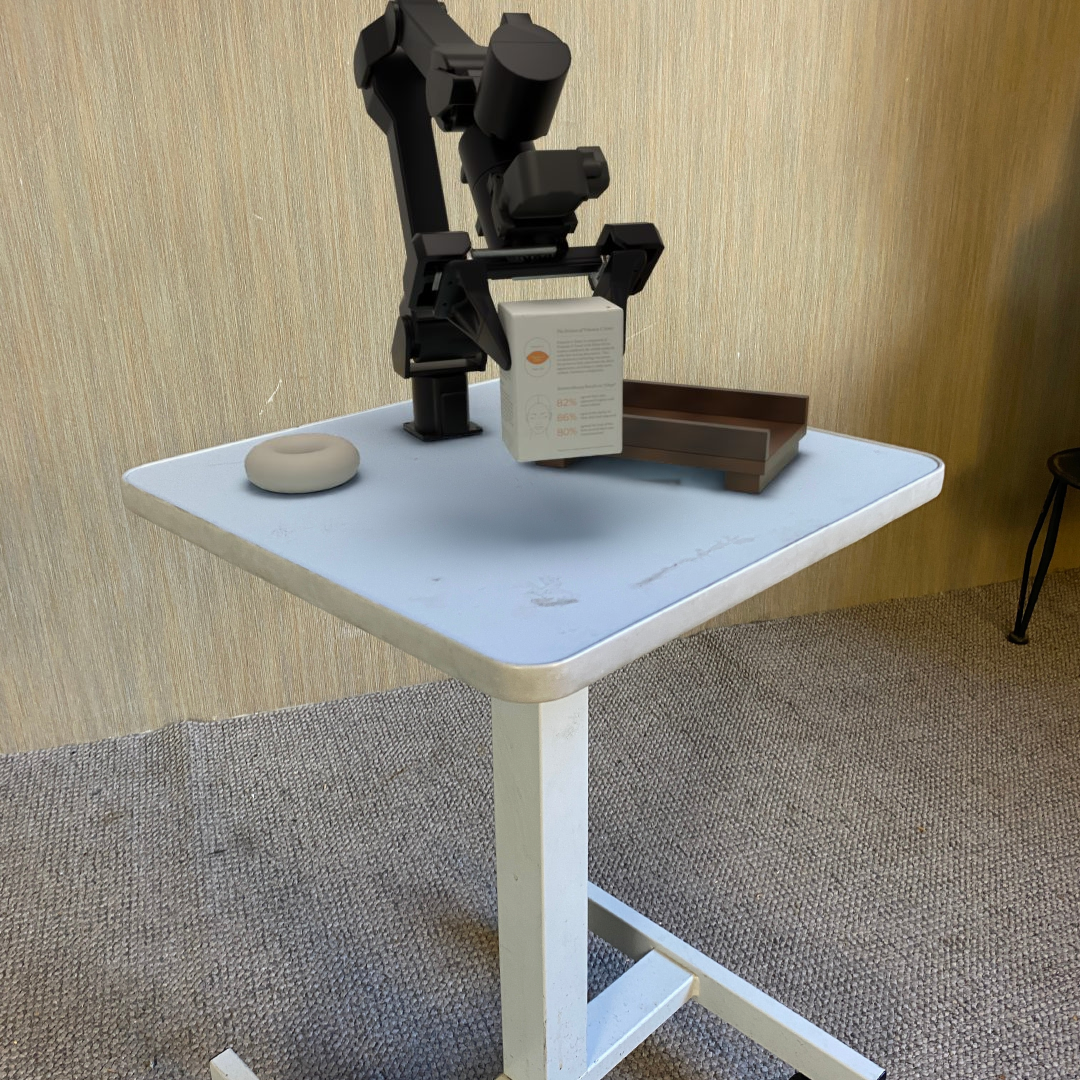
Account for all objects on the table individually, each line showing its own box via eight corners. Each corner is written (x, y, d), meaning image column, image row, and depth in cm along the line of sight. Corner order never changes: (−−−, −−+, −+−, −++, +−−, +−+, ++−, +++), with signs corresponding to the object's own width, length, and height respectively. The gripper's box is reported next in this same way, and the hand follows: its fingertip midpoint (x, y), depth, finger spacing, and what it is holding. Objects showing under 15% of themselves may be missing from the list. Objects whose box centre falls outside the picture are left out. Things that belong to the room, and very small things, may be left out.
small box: (602, 434, 80) (603, 295, 76) (623, 455, 75) (626, 307, 71) (499, 441, 79) (495, 300, 75) (514, 463, 74) (511, 313, 70)
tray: (527, 465, 96) (526, 406, 94) (591, 428, 107) (591, 375, 105) (763, 496, 86) (767, 432, 84) (805, 453, 98) (809, 395, 96)
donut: (317, 506, 86) (383, 470, 95) (313, 466, 85) (380, 433, 94) (222, 491, 90) (293, 458, 99) (216, 453, 89) (289, 423, 98)
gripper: (402, 106, 69) (458, 300, 63) (656, 104, 75) (728, 281, 69) (383, 222, 78) (430, 398, 73) (609, 211, 85) (668, 374, 79)
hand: (565, 362), depth 73 cm, fingers closed on small box, 8 cm apart
